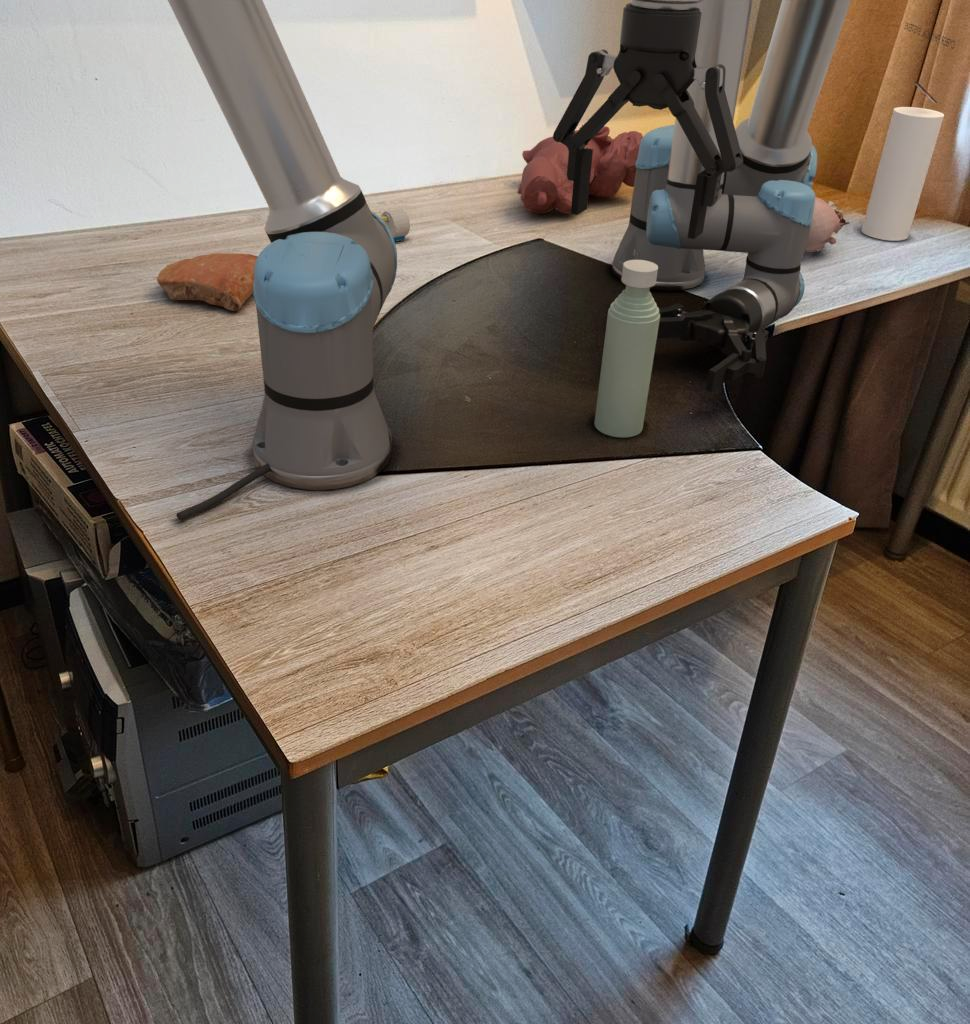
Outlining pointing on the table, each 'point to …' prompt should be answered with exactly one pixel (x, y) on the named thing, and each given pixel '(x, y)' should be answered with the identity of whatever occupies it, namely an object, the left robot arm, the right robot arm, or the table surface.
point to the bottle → (627, 363)
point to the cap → (639, 273)
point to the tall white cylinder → (902, 168)
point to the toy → (824, 225)
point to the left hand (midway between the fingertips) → (635, 223)
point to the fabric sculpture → (550, 162)
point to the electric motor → (397, 223)
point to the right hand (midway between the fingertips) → (660, 364)
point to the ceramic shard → (211, 279)
